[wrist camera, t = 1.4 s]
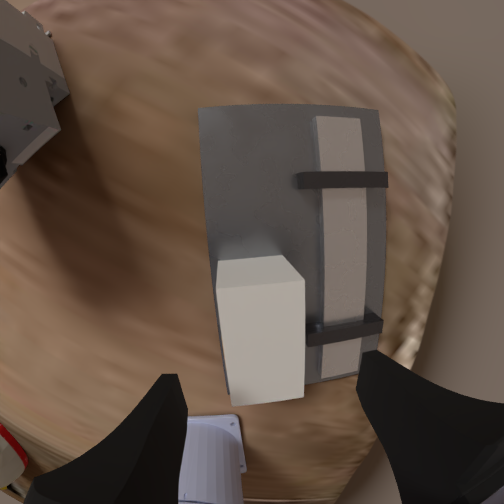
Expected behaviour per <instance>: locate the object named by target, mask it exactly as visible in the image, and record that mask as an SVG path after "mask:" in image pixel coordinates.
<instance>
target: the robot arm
mask: <svg viewBox="0 0 504 504" xmlns="http://www.w3.org/2000/svg"><path fill="white" fill-rule="evenodd" d="M356 391H357V394H358V397H359V400H360V402H361V405H362V408H363V410H364V412H365V414H366V416H367V417H368V419H369V421H370V423H371V425H372V427H373V429H374V430H375V432H376V434H377V436H378V438H379V440H380V441H381V443H382V445H383V447H384V449H385V452H386V454H387V456H388V459H389V461H390V464H391V467H392V470H393V473H394V476H395V479H396V482H397V486H398V489H399V493H400V497H401V501H402V504H504V403H496V402H489V401H484V400H479V399H475V398H471V397H468V396H464V395H461V394H458V393H455V392H453V391H450V390H447V389H445V388H443V387H440V386H438V385H436V384H434V383H432V382H430V381H428V380H426V379H424V378H422V377H420V376H419V375H417V374H415V373H413V372H412V371H410V370H409V369H407V368H405V367H404V366H402V365H400V364H399V363H397V362H396V361H394V360H392V359H391V358H389V357H388V356H386V355H384V354H383V353H381V352H379V351H378V350H372V351H367V352H363V353H362V358H361V364H360V370H359V375H358V380H357V386H356ZM246 471H247V467H246V461H245V456H244V450H243V444H242V437H241V431H240V425H239V419H238V416H237V415H234V414H229V415H214V416H188V408H187V405H186V402H185V399H184V395H183V392H182V389H181V385H180V382H179V378H178V375H177V374H162V375H161V376H160V377H159V378H158V379H157V381H156V382H155V383H154V385H153V386H152V387H151V389H150V390H149V391H148V392H147V394H146V395H145V396H144V397H143V399H142V400H141V401H140V402H139V404H138V405H137V406H136V407H135V408H134V410H133V411H132V412H131V413H130V414H129V415H128V416H127V417H126V418H125V419H124V420H123V422H122V423H121V424H120V425H119V426H118V427H117V428H116V429H115V430H114V431H113V432H111V433H110V434H109V435H108V436H107V437H106V438H105V439H103V440H102V441H101V442H100V443H98V444H97V445H96V446H94V447H93V448H91V449H90V450H89V451H87V452H86V453H84V454H83V455H81V456H80V457H78V458H76V459H75V460H73V461H71V462H69V463H68V464H66V465H64V466H62V467H60V468H57V469H55V470H53V471H50V472H48V473H45V474H43V475H40V476H37V477H34V479H33V481H32V484H31V486H30V488H29V491H28V493H27V495H26V498H25V500H24V504H244V501H243V492H242V482H241V473H245V472H246Z"/></svg>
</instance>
